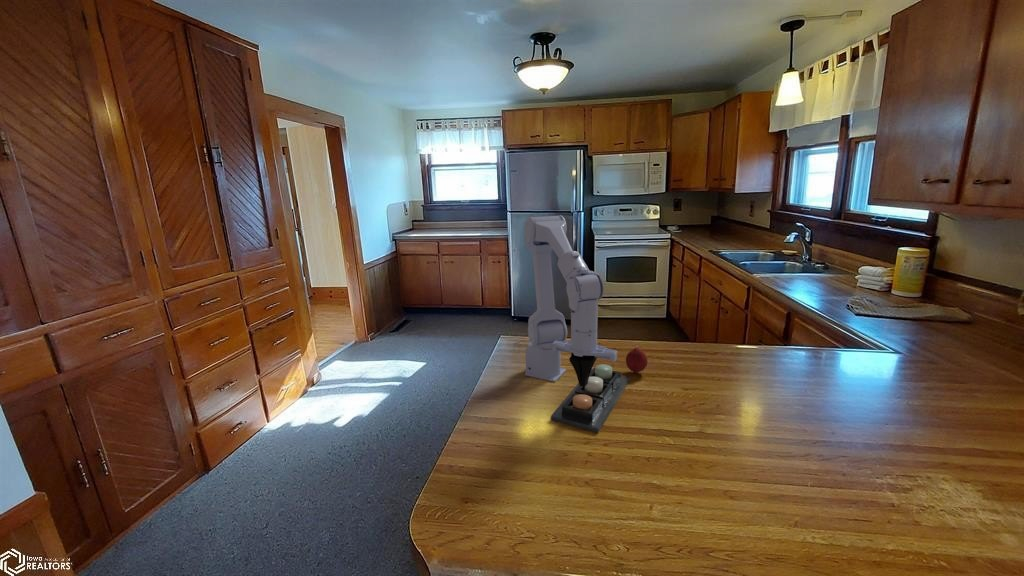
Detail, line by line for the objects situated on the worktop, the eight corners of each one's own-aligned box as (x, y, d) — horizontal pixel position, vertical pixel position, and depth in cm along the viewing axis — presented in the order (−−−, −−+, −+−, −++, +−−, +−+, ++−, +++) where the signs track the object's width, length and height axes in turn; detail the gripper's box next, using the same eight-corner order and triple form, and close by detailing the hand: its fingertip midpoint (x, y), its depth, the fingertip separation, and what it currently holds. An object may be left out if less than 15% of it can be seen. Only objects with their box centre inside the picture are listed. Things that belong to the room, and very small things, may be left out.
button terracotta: (570, 411, 94) (570, 401, 93) (576, 402, 98) (576, 392, 97) (588, 415, 92) (588, 405, 91) (594, 406, 96) (594, 396, 95)
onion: (648, 378, 112) (649, 350, 110) (626, 377, 113) (627, 349, 111) (645, 369, 117) (646, 342, 115) (624, 368, 118) (625, 342, 116)
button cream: (582, 391, 101) (582, 382, 100) (588, 384, 104) (588, 375, 104) (599, 395, 98) (599, 386, 98) (605, 387, 102) (605, 378, 102)
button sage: (592, 378, 107) (592, 369, 107) (597, 371, 111) (598, 363, 110) (609, 381, 105) (609, 372, 105) (614, 374, 109) (614, 366, 108)
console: (550, 420, 93) (550, 408, 92) (590, 373, 116) (590, 363, 115) (598, 433, 88) (598, 420, 87) (629, 380, 111) (629, 370, 110)
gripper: (546, 329, 91) (547, 385, 94) (611, 339, 84) (609, 399, 87) (559, 319, 97) (559, 372, 100) (620, 328, 90) (618, 385, 93)
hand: (583, 384), depth 94 cm, fingers closed
